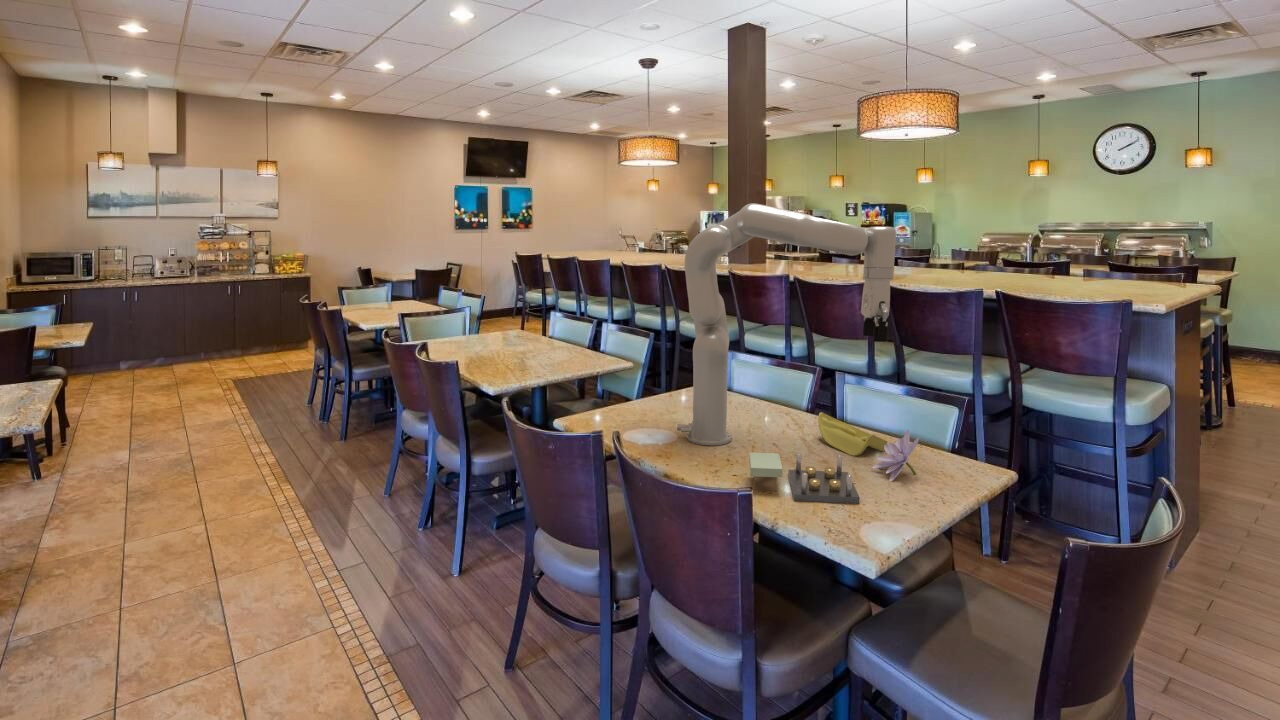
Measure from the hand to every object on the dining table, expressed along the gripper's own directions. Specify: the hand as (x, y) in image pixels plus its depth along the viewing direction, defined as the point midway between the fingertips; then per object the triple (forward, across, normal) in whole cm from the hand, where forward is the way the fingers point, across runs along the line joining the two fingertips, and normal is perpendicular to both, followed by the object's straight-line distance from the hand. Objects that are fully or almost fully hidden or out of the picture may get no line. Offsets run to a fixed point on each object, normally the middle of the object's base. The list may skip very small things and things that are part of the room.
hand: (874, 338), depth 183 cm
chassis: (+30, +32, -19) cm, 48 cm away
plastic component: (+31, -2, -4) cm, 31 cm away
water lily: (+31, +20, +1) cm, 37 cm away
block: (+30, +30, -32) cm, 53 cm away
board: (+26, +30, -32) cm, 51 cm away
